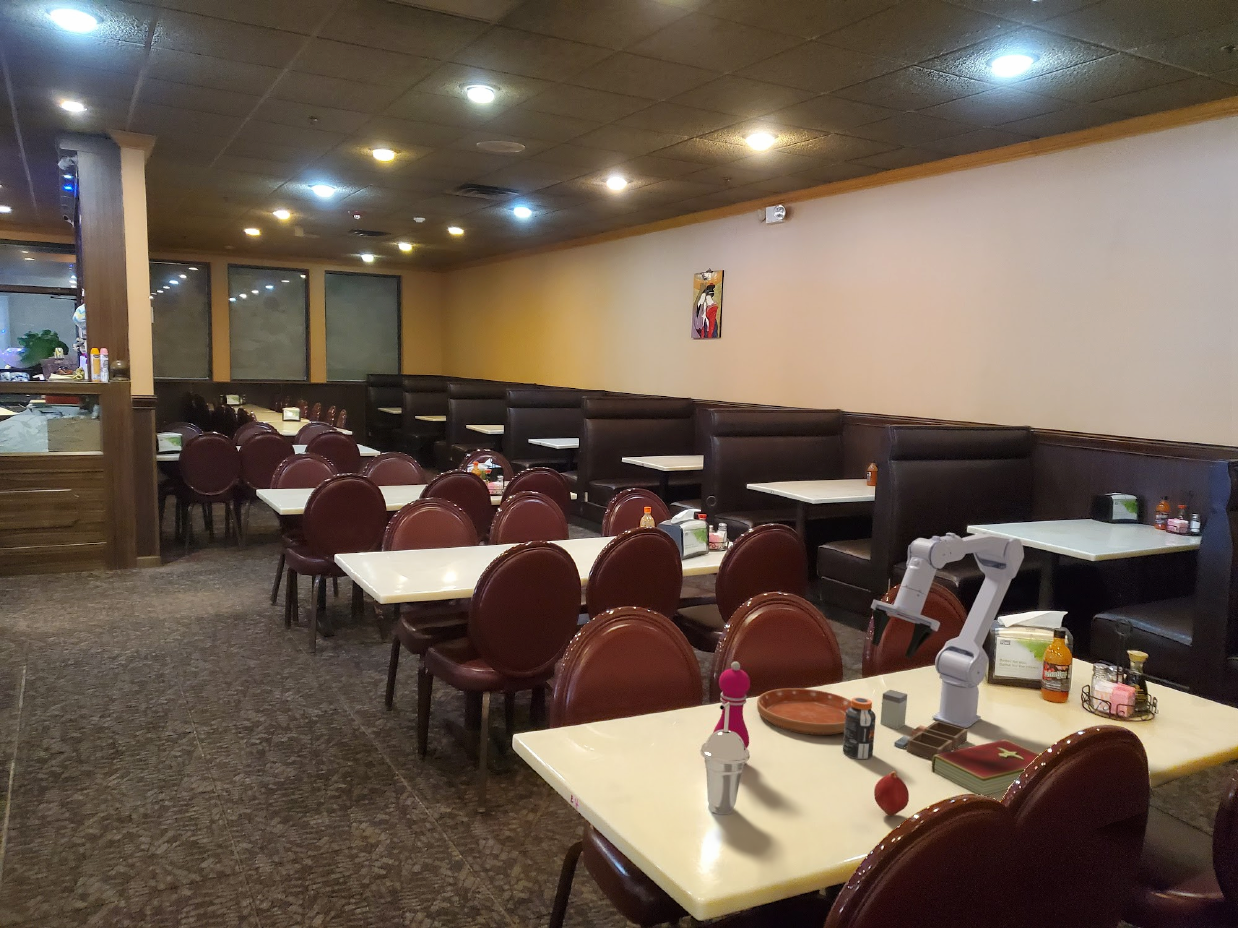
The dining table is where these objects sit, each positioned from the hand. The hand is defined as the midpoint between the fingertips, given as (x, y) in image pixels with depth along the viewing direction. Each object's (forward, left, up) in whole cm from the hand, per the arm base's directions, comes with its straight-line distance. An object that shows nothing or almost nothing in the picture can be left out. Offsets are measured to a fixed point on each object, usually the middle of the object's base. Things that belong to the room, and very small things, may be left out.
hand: (891, 651), depth 191 cm
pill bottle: (+13, 0, -19) cm, 23 cm away
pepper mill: (+36, -16, -19) cm, 44 cm away
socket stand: (-4, +8, -19) cm, 21 cm away
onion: (+34, +16, -19) cm, 42 cm away
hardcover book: (+2, +23, -20) cm, 30 cm away
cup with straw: (+54, -6, -19) cm, 57 cm away
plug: (-9, -2, -19) cm, 21 cm away
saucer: (+3, -17, -19) cm, 26 cm away
